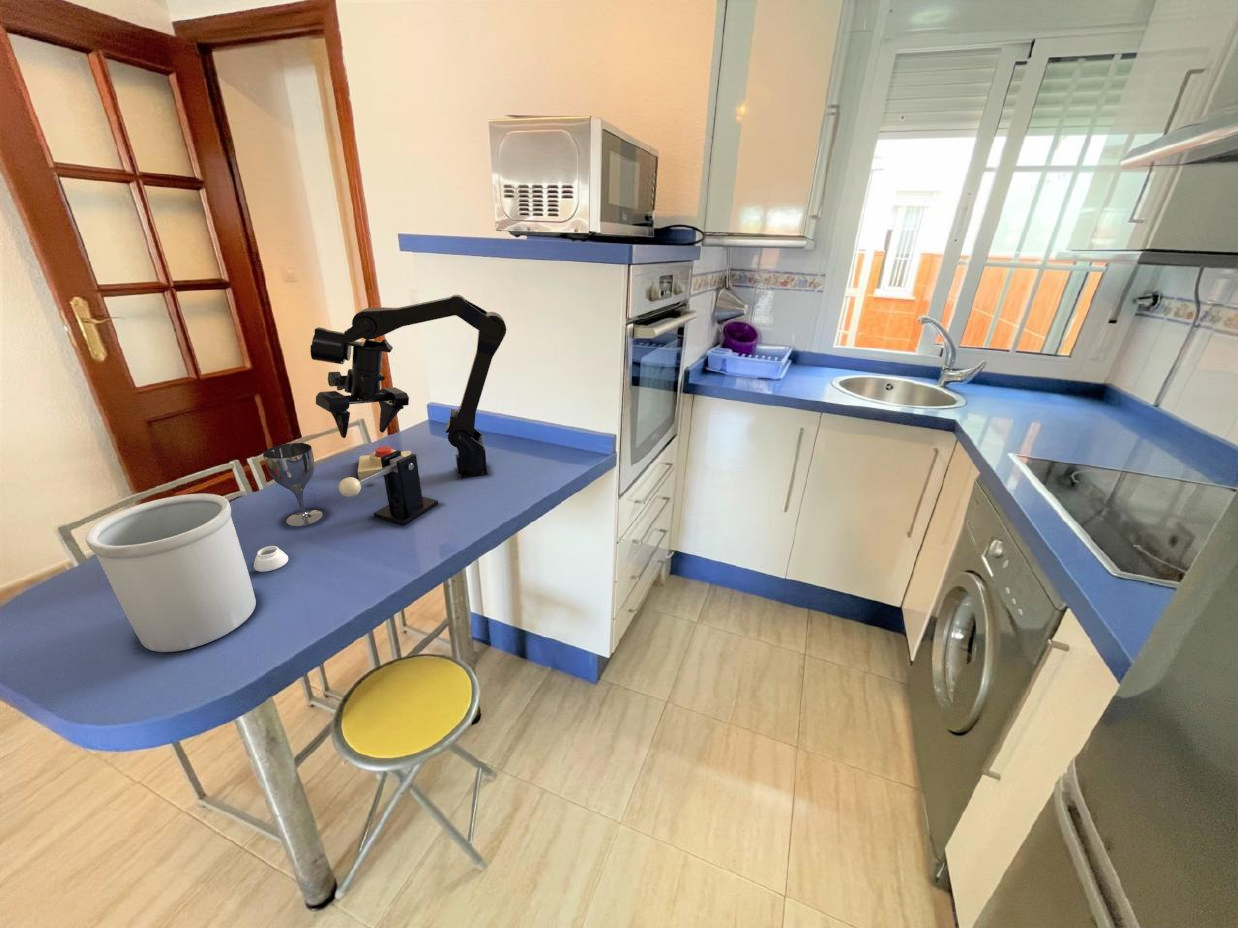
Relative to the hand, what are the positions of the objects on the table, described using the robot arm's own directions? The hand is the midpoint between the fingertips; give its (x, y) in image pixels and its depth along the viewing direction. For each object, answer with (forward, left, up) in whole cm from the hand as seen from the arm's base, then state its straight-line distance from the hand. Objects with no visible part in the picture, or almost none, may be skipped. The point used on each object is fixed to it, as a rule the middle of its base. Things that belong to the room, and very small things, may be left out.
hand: (363, 434), depth 114 cm
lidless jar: (+15, +31, -12) cm, 36 cm away
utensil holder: (+22, +43, -12) cm, 50 cm away
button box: (-3, -7, -11) cm, 14 cm away
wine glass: (+12, +15, -12) cm, 23 cm away
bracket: (-7, +19, -11) cm, 23 cm away
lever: (-3, +23, -2) cm, 23 cm away
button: (-3, -7, -8) cm, 11 cm away
